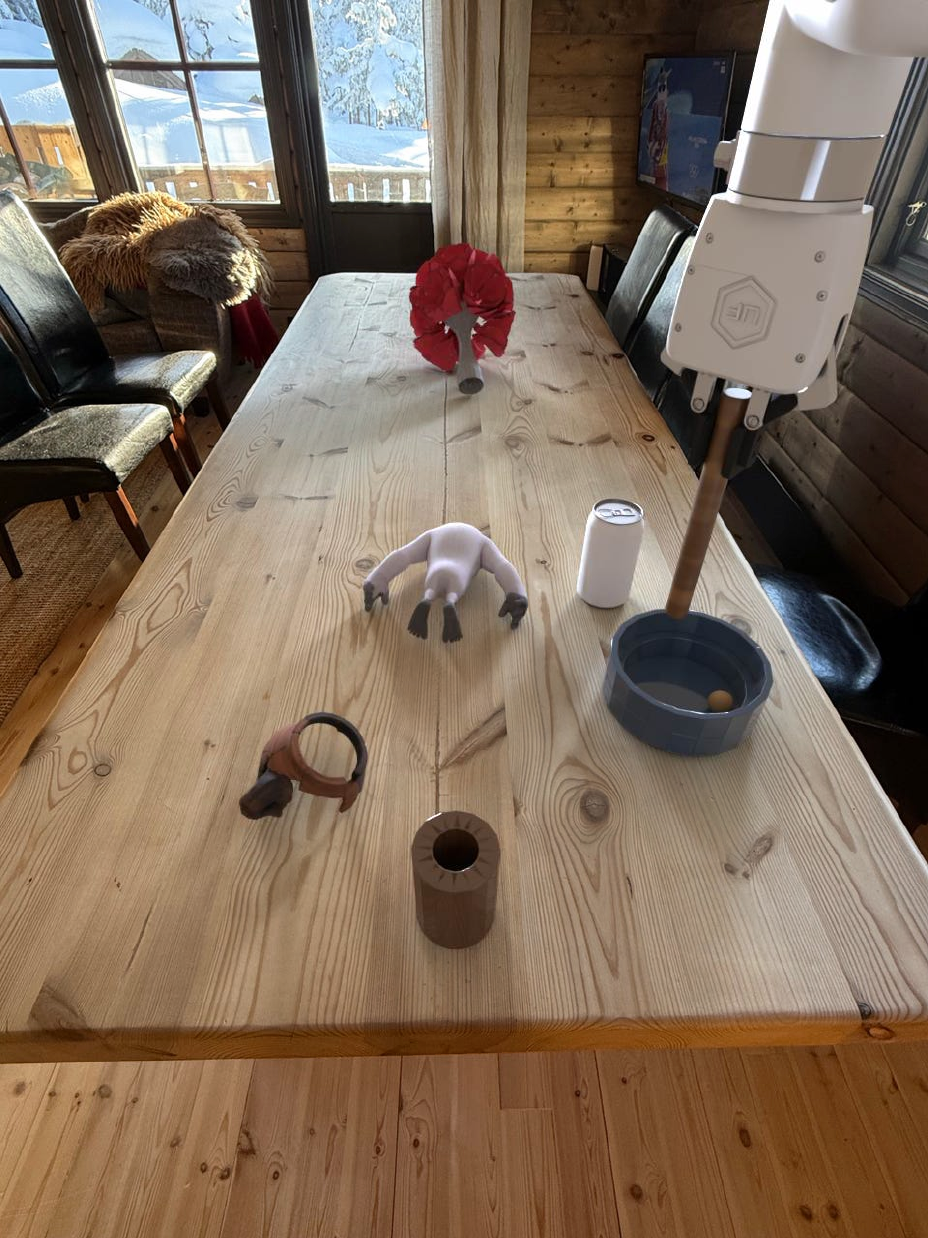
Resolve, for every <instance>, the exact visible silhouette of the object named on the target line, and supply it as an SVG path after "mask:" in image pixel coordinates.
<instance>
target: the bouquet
mask: <svg viewBox="0 0 928 1238" xmlns="http://www.w3.org/2000/svg"><path fill="white" fill-rule="evenodd" d="M414 283H415V285H412V286H411V287H409V292H408V293H409V294H408V300H409V303H410V305H411V310H410V311H409V323H410V324H409V325H410V326H411V329H413V333H414V335H415V338H414V339H413V341H412V343H413V344H412V347H413V348H414V349H415V350H417V352H418V353H420V354H421V357H422V358H423V359H424V360H426V361H427V362H429V363H431V364H432V365H433V366H435V367H437V368H439V369H441V370H442V371H445V372H448V371H449V372H450V371H452V370H453V369H454V368H455V367H456V365H457V367H456V385H457V389H458V391H459V392H460V393H461V394H463V395H468V396H469V395H470V396H472V395H476V394H479V393H480V392H481V391H482V390H483V389H484V387H485V378H484V374H483V372H482V368H481V366H480V364H479V362H478V361H480V359H481V358H482V357H483V356H484V355H485V353H486V352H487V351H486V350H487V349H488V350H489V351H490V352H491V353H492V354H493V355H494V357H496V358H501V357H503V355H505V354H506V352H505V351H506V349H507V347H508V344H509V339H508V337H509V335H510V333H511V331H512V325H513V323H514V321H515V316H516V314H517V312H516V311H515V310H514V306H515V305H514V303H515V297H514V296H515V293H514V286H513V285H514V284H513V281H512V280H511V279H510V278H509V276H507V275H506V271H505V270H504V267H503V264H502V261H501V259H500V258H499V255H498V256H497V255H496V254H495V253H494V252H491V253H487V252H486V251H483V250H481V249H476V248H475V247H472V245H471V244H470V243H466V242H459V243H457V244H449V245H447V246H441V247H439V248H438V249H436V251H435V253H434V256H433V257H430V260H426V261H425V262H424V263H422V265H420V267H419V269H418V270H417V272H416V274H415V282H414ZM479 318H481V319H483V320H482V321H481V322H479V321H478V320H479ZM481 324H482V325H481ZM472 331H474V332H475V333H472Z"/></svg>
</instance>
